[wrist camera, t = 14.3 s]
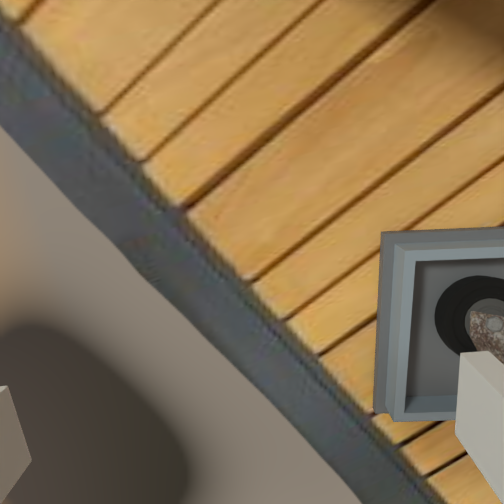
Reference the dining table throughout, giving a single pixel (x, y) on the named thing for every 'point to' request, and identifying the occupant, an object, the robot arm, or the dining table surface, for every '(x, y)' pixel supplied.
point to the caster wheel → (472, 316)
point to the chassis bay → (424, 316)
